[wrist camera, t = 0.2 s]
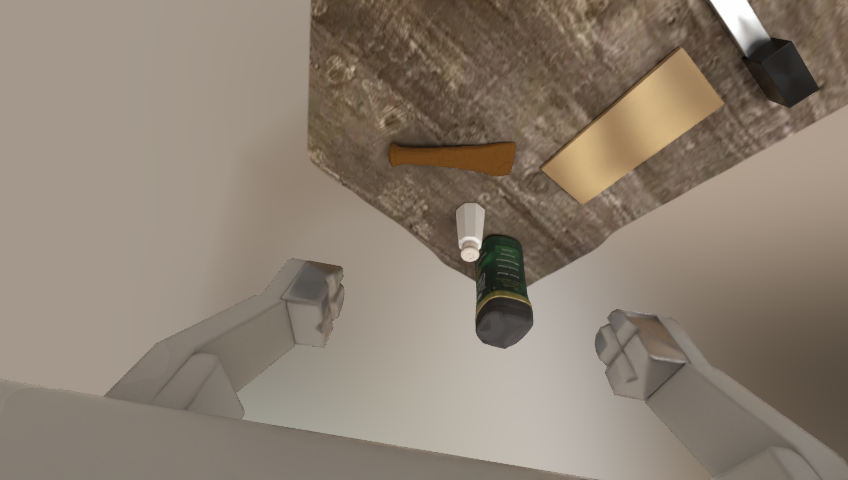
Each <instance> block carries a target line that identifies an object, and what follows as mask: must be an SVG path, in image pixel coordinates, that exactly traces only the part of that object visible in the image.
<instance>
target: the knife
mask: <svg viewBox="0 0 848 480" xmlns="http://www.w3.org/2000/svg"><path fill="white" fill-rule="evenodd" d="M706 2H707V3H708V5H709V6H710V8H711V9H712V11H713V12H714V14H715V15H716V17H717V18H718V19H719V21H720V22H721V24H722V25H723V27H724V28H725V30H726V31H727V33H728V34H729V36H730V37H731V39H732V40H733V42H734V43H735V45H736V46H737V48H738V49H739V51H740V52H741V54H742V55H743V57H742V58H741V59H742V60H743V62H744V63H745V65H746V66H747V68H748V69H749V71H750V72H751V74H752V75H753V77H754V78H755V79H756V81H757V82H758V84H759V85H760V87H761V88H762V90H763V91H764V93H765V94H766V96H767V97H768V99H769V100H770V101H773V102H776V103H778V104H781V105H784V106H786V107H789V108H790V107H792V106H794V105H795V104H797V103H798V102H800V101H801V100H803V99H805V98H806V97H808V96H809V95H811V94H812V93H814V92H816V91H817V90H819V88H818V86H817V84H816V82H815V81H814V79H813V77H812V76H811V74H810V72H809V70H808V69H807V67H806V65H805V64H804V62H803V60H802V58H801V57H800V55H799V53H798V52H797V50H796V48H795V46H794V45H793V43H792V41H788V40H782V39H776V38H770V37H769V35H768V33H767V32H766V30H765V29H764V27H763V25H762V24H761V22H760V20H759V19H758V17H757V15H756V14H755V12H754V11H753V9H752V7H751V6H750V4H749V2H748V1H747V0H706Z"/></svg>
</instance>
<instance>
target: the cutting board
mask: <svg viewBox="0 0 848 480" xmlns="http://www.w3.org/2000/svg"><path fill="white" fill-rule="evenodd" d="M722 105H724V102H723V101H722V100H721V98H720V97H719V96H718V94H717V93H716V92H715V90H714V89H713V87H712V86H711V85H710V83H709V82H708V81H707V79H706V78H705V77H704V75H703V74H702V73H701V71H700V70H699V69H698V67H697V66H696V65H695V63H694V62H693V61H692V59H691V58H690V57H689V55H688V54H687V53H686V51H685V50H684V49H683V47H680V46H678V47H677V48H676V49H675V50H674V51H673V52H672V53H670V54H669V55H668V56H667V57H666V58H665V59H664V60H662V61H661V62H660V63H659V64H658V65H657V66H656V67H654V68H653V69H652V70H651V71H650V72H649V73H648V74H646V75H645V76H644V77H643V78H642V79H641V80H639V81H638V82H637V83H636V84H635V85H634V86H633V87H631V88H630V89H629V90H628V91H627V92H626V93H625V94H623V95H622V96H621V97H620V98H619V99H618V100H617V101H615V102H614V103H613V104H612V105H611V106H610V107H609V108H607V109H606V110H605V111H604V112H603V113H602V114H601V115H599V116H598V117H597V118H596V119H595V120H594V121H593V122H591V123H590V124H589V125H588V126H587V127H586V128H585V129H583V130H582V131H581V132H580V133H579V134H578V135H576V136H575V137H574V138H573V139H572V140H571V141H570V142H568V143H567V144H566V145H565V146H564V147H563V148H562V149H560V150H559V151H558V152H557V153H556V154H555V155H554V156H552V157H551V158H550V159H549V160H548V161H547V162H546V163H544V164H543V165H542V166H541V167H540V168H541V170H542V171H543V172H545V173H546V174H547V175H548V176H549V177H550V178H552V179H553V180H554V181H555V182H556V183H557V184H559V185H560V186H561V187H562V188H563V189H564V190H565V191H567V192H568V193H569V194H570V195H571V196H572V197H574V198H575V199H576V200H577V201H578V202H579V203H580V204H582V205H583V204H585V203H586V202H587V201H589V200H590V199H592V198H593V197H594V196H596V195H597V194H599V193H600V192H602V191H603V190H604V189H606V188H607V187H609V186H610V185H611V184H613V183H614V182H616V181H617V180H618V179H620V178H621V177H623V176H624V175H625V174H627V173H628V172H630V171H631V170H632V169H634V168H635V167H637V166H638V165H639V164H641V163H642V162H644V161H645V160H646V159H648V158H649V157H651V156H652V155H654V154H655V153H656V152H658V151H659V150H661V149H662V148H663V147H665V146H666V145H668V144H669V143H670V142H672V141H673V140H675V139H676V138H677V137H679V136H680V135H682V134H683V133H684V132H686V131H687V130H689V129H690V128H691V127H693V126H694V125H696V124H697V123H699V122H700V121H701V120H703V119H704V118H706V117H707V116H708V115H710V114H711V113H713V112H714V111H715V110H717V109H718V108H720V107H721V106H722Z"/></svg>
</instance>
